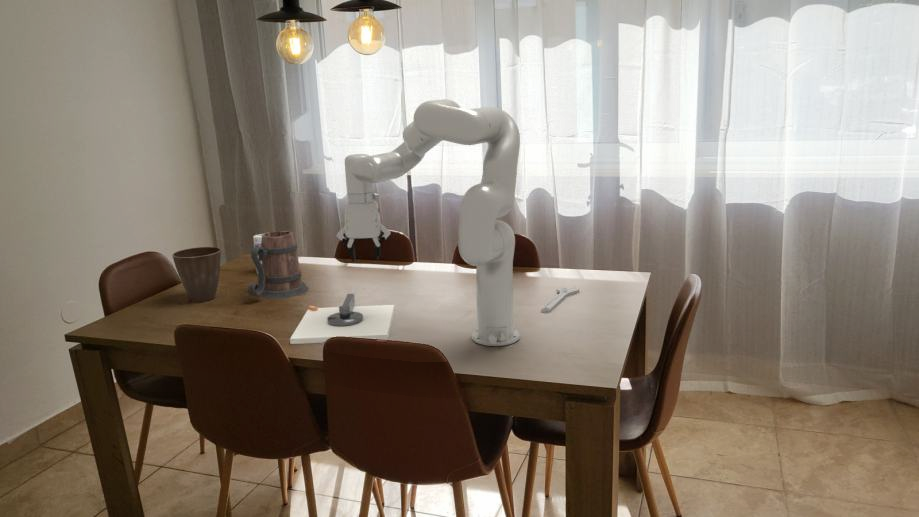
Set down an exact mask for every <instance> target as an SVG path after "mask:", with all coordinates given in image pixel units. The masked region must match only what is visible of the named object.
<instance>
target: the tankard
mask: <svg viewBox="0 0 919 517" xmlns="http://www.w3.org/2000/svg"><path fill="white" fill-rule="evenodd" d="M261 234H262V240H261V246H260V247H254V246H253V248H252V249H251V253H250V257H251V260H252V262H253V264H254V266H255V267H256V272H257V271H258V274H257V277H258V279H257V280H258V281H257V283H256V282H251V283H249V284H248V287H247V289H248V292H249V294H250V295H252V296H257V297H258V296H259V298H263V299H270V300H271V299H273V300H277V299H280V300H281V299H287V298H288V299H289V298H294V297H297V296H301V295H303V294H306V293H307V292H308V291H309V289H310V288H309V287H308V286H307V285H306V283H305V282H303V281H302V271H301V269H300V261H299V256H298V255H299V254H298V244H297V242H296V240H295V239H296V238H295V235H294V233H293V231H289V230H281V231H280V230H279V231H268V232H264V233H261ZM258 255H259V258H258ZM260 261H262V264H261V262H260Z"/></svg>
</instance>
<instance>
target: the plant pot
mask: <svg viewBox="0 0 919 517" xmlns="http://www.w3.org/2000/svg"><path fill="white" fill-rule="evenodd" d="M221 252H222V250H221V248H220V247H216V246H200V247H192V248H191V247H190V248H186V249H181V250H178V251H175V252H173V253H172V255H171V256H172V259H173V263H174V266H175V269H176V272H177V274H178V276H179V280H180V282H181V284H182V285H183V288H184V290H185V292H186V293H187V295H188V297H189V299H190V300H191V302H195V303H200V302H201V303H202V302H207V301H210V300H211V301H212V300H214V299H215V297H216V295H217V294H216V293H217V290H218V286H219V279H220V274H221V273H220V271H221V259H222V258H221V254H222V253H221Z"/></svg>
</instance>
